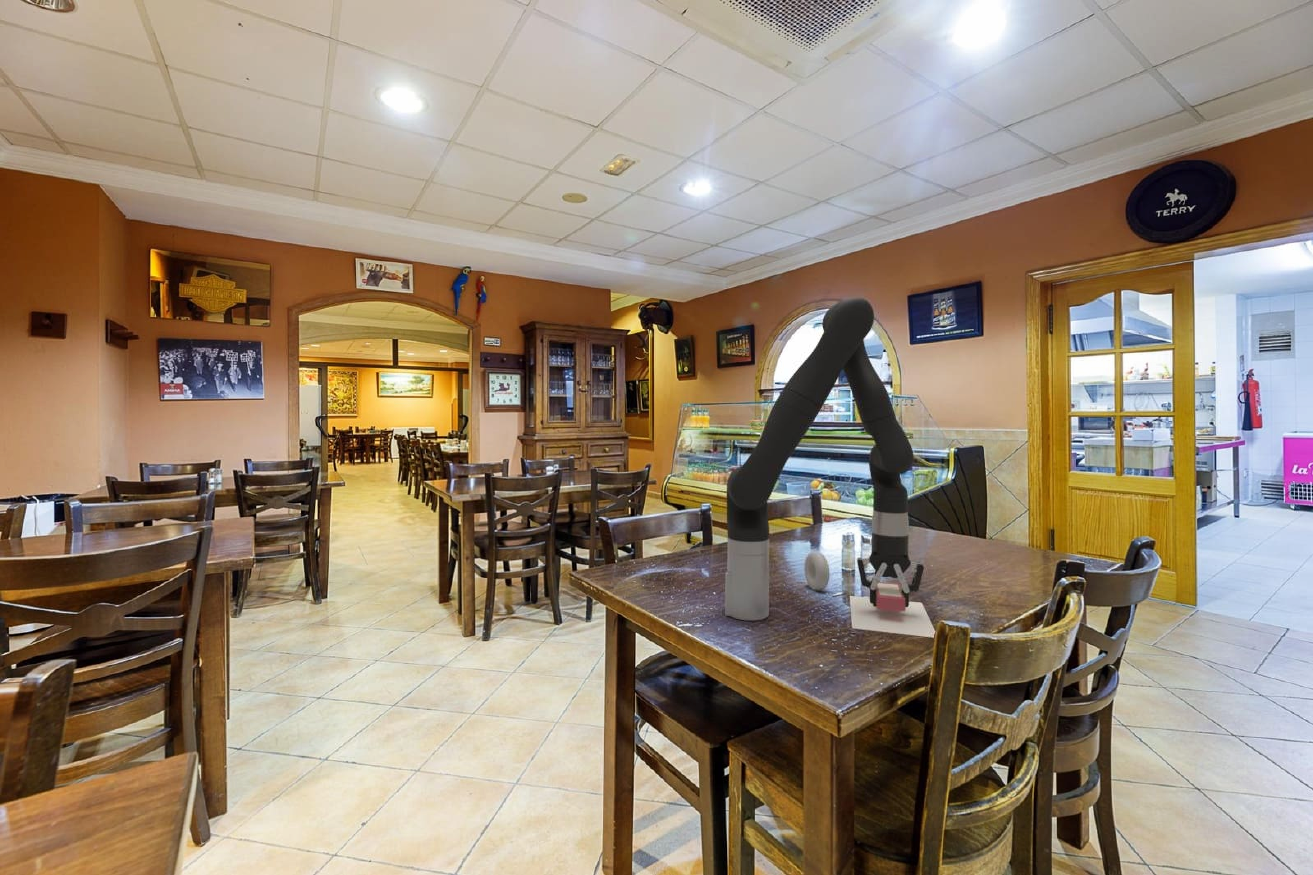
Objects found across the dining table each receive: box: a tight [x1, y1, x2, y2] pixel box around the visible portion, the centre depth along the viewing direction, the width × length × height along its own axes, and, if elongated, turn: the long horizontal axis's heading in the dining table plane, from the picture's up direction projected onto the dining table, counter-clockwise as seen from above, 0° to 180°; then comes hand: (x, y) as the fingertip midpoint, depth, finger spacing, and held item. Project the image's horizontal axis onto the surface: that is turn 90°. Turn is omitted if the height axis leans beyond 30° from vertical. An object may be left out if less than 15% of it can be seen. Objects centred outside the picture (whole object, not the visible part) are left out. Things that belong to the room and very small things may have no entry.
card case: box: [876, 581, 905, 611], centre depth 121 cm, size 6×3×12 cm
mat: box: [849, 595, 936, 639], centre depth 120 cm, size 16×22×1 cm
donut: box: [803, 550, 830, 592], centre depth 139 cm, size 10×4×10 cm, turn 9°
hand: (888, 606), depth 121 cm, fingers closed on card case, 5 cm apart
